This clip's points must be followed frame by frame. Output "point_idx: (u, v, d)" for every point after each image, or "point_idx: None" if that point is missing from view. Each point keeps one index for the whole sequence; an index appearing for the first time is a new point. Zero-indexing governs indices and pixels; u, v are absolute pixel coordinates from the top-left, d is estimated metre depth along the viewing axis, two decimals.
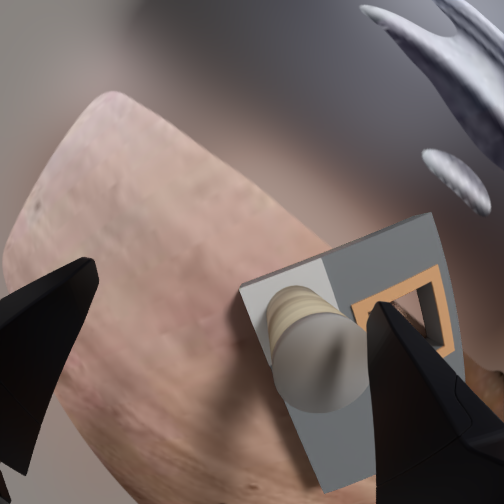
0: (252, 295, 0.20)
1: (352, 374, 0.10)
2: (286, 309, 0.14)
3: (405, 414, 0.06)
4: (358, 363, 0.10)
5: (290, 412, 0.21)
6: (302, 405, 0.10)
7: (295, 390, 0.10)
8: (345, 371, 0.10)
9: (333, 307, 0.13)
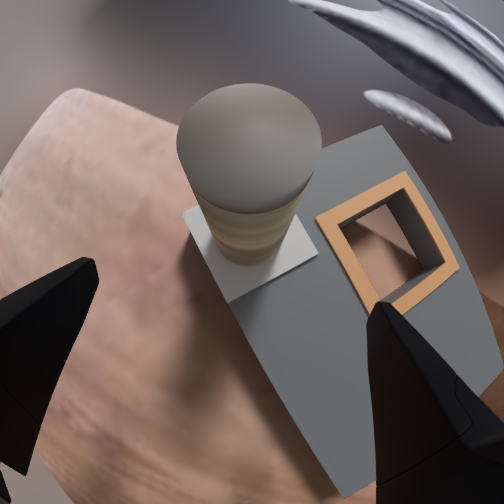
0: (197, 217, 0.18)
1: (289, 138, 0.08)
2: None
3: (405, 414, 0.06)
4: (292, 125, 0.08)
5: (267, 372, 0.16)
6: (224, 188, 0.07)
7: (209, 165, 0.07)
8: (277, 135, 0.08)
9: None
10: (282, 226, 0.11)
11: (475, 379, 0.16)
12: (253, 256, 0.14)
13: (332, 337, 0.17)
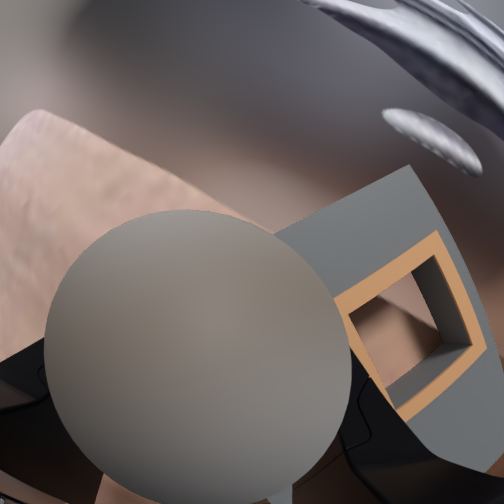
0: None
1: (274, 394, 0.03)
2: None
3: None
4: (286, 354, 0.03)
5: None
6: (142, 484, 0.03)
7: (109, 439, 0.03)
8: (246, 385, 0.03)
9: None
10: None
11: (484, 458, 0.11)
12: None
13: None
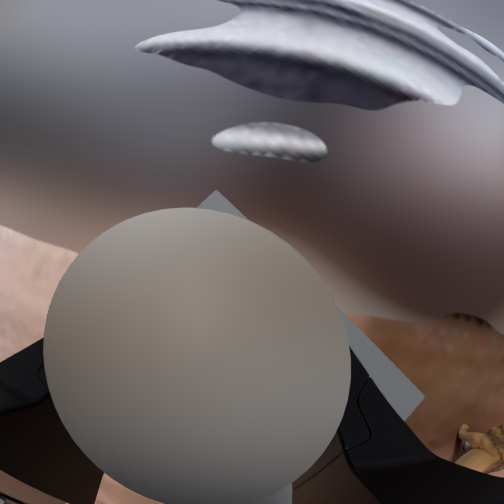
0: None
1: (273, 392, 0.03)
2: None
3: None
4: (285, 352, 0.03)
5: None
6: (142, 482, 0.03)
7: (108, 438, 0.03)
8: (245, 383, 0.03)
9: None
10: None
11: None
12: None
13: None
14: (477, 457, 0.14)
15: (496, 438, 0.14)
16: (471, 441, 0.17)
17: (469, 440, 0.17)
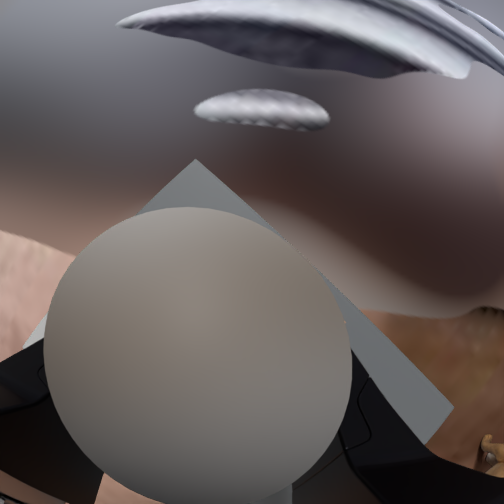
0: None
1: (274, 392, 0.03)
2: None
3: None
4: (286, 352, 0.03)
5: None
6: (142, 483, 0.03)
7: (108, 438, 0.03)
8: (246, 383, 0.03)
9: None
10: None
11: None
12: None
13: None
14: None
15: None
16: (496, 454, 0.12)
17: (494, 453, 0.13)
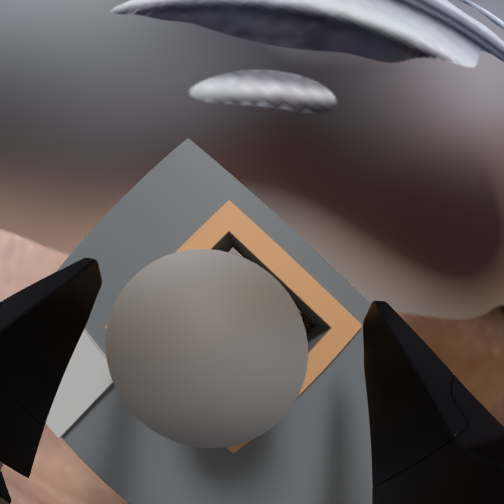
0: None
1: (258, 364, 0.05)
2: None
3: (401, 414, 0.06)
4: (266, 339, 0.05)
5: (124, 498, 0.10)
6: (172, 430, 0.05)
7: (151, 399, 0.05)
8: (241, 358, 0.05)
9: None
10: None
11: None
12: None
13: (175, 464, 0.11)
14: None
15: None
16: None
17: None
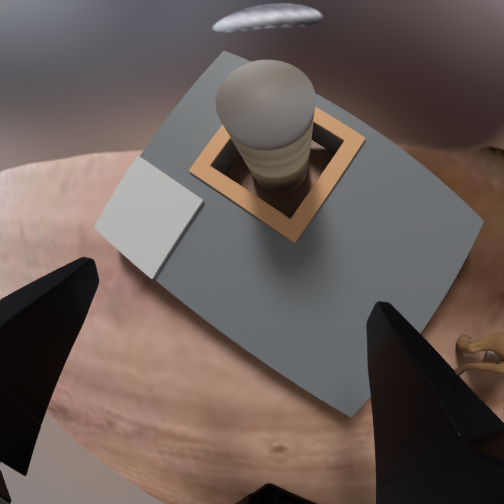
0: (104, 225, 0.19)
1: (292, 95, 0.10)
2: None
3: (405, 414, 0.06)
4: (293, 85, 0.10)
5: (210, 321, 0.18)
6: (256, 135, 0.11)
7: (243, 122, 0.11)
8: (284, 94, 0.11)
9: None
10: (302, 155, 0.14)
11: (448, 247, 0.16)
12: (286, 182, 0.18)
13: (251, 267, 0.18)
14: None
15: None
16: None
17: None
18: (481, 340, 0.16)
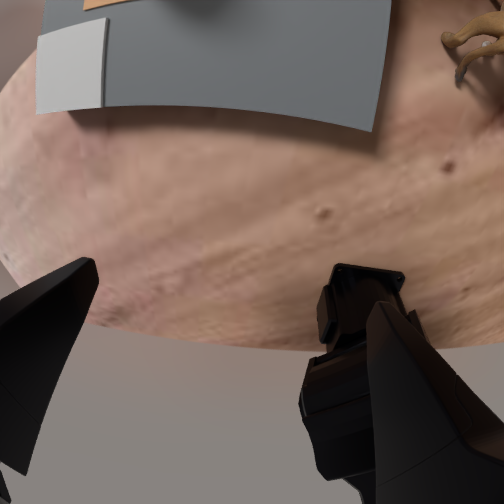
0: (42, 104, 0.15)
1: None
2: None
3: (405, 414, 0.06)
4: None
5: (170, 103, 0.15)
6: None
7: None
8: None
9: None
10: None
11: None
12: None
13: (178, 34, 0.13)
14: None
15: None
16: None
17: None
18: (464, 28, 0.10)
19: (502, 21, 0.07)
